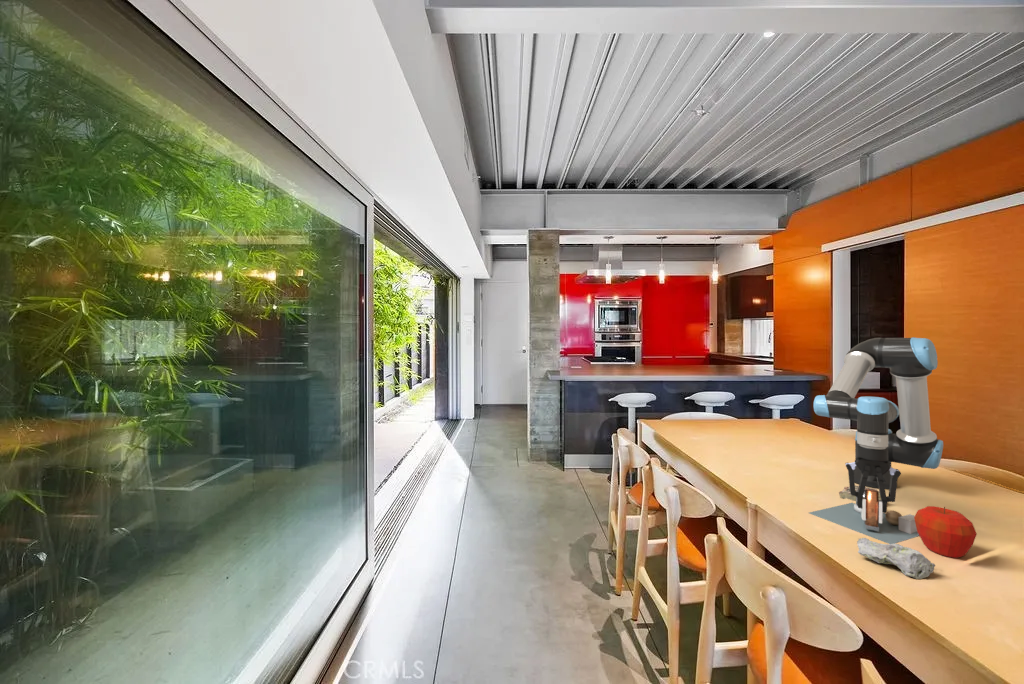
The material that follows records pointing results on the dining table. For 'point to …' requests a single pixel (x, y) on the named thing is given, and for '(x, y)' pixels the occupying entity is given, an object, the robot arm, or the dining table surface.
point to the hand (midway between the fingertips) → (871, 520)
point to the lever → (871, 509)
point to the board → (852, 519)
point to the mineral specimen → (897, 557)
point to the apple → (945, 531)
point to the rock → (846, 494)
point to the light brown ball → (893, 517)
